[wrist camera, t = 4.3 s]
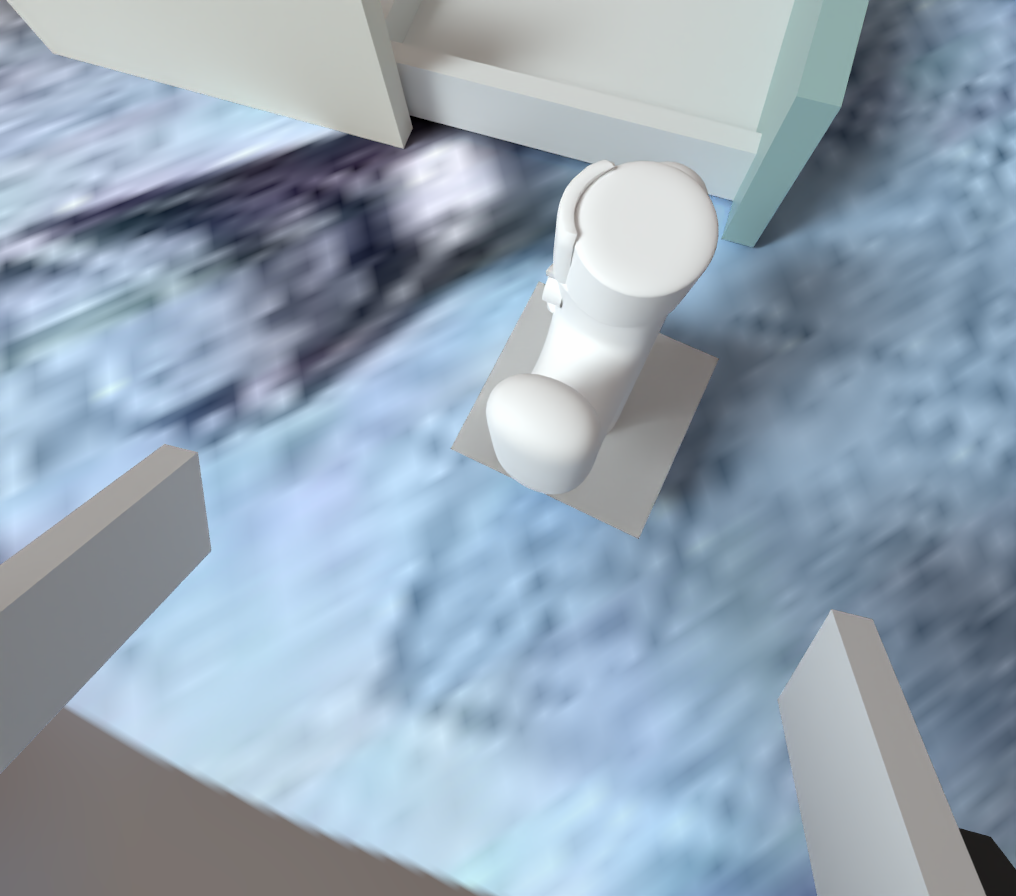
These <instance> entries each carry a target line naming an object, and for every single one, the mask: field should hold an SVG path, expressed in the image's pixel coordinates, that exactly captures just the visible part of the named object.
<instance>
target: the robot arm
mask: <svg viewBox="0 0 1016 896" xmlns="http://www.w3.org/2000/svg"><path fill="white" fill-rule="evenodd" d="M210 552H211V545H210V538H209V530H208V523H207V516H206V508H205V501H204V494H203V487H202V479H201V472H200V465H199V457H198V452H194V451H190V450H186V449H182V448H178V447H174V446H170V445H166V444H164V445H163V446H161V447H160V448H159V449H157V450H156V451H154V452H153V453H152V454H150V455H149V456H148V457H146V458H145V459H144V460H142V461H141V462H140V463H138V464H137V465H135V466H134V467H133V468H131V469H130V470H129V471H127V472H126V473H125V474H123V475H122V476H121V477H119V478H118V479H116V480H115V481H114V482H112V483H111V484H110V485H108V486H107V487H106V488H104V489H103V490H102V491H100V492H99V493H97V494H96V495H95V496H93V497H92V498H91V499H89V500H88V501H87V502H85V503H84V504H83V505H81V506H80V507H78V508H77V509H76V510H74V511H73V512H72V513H70V514H69V515H68V516H66V517H65V518H64V519H62V520H61V521H59V522H58V523H57V524H55V525H54V526H53V527H51V528H50V529H49V530H47V531H46V532H45V533H43V534H42V535H40V536H39V537H38V538H36V539H35V540H34V541H32V542H31V543H30V544H28V545H27V546H26V547H24V548H23V549H22V550H20V551H19V552H17V553H16V554H15V555H13V556H12V557H11V558H9V559H8V560H7V561H5V562H4V563H3V564H1V565H0V773H2V771H3V770H4V769H5V768H6V767H7V766H8V765H9V764H10V763H11V762H12V761H13V760H14V759H15V758H16V757H17V756H18V755H19V753H20V752H21V751H22V750H23V749H24V748H25V747H26V746H27V745H28V744H29V743H30V742H31V741H32V740H33V739H34V738H35V737H36V736H37V735H38V733H39V732H40V731H41V730H42V729H43V728H44V727H45V726H46V725H47V724H48V723H49V722H50V721H51V720H52V719H53V718H54V717H55V715H56V714H57V713H58V712H59V711H60V710H61V709H62V708H63V707H64V706H65V705H66V704H67V703H68V702H69V701H70V700H71V699H72V698H73V696H74V695H75V694H76V693H77V692H78V691H79V690H80V689H81V688H82V687H83V686H84V685H85V684H86V683H87V682H88V681H89V680H90V678H91V677H92V676H93V675H94V674H95V673H96V672H97V671H98V670H99V669H100V668H101V667H102V666H103V665H104V664H105V663H106V662H107V661H108V659H109V658H110V657H111V656H112V655H113V654H114V653H115V652H116V651H117V650H118V649H119V648H120V647H121V646H122V645H123V644H124V643H125V641H126V640H127V639H128V638H129V637H130V636H131V635H132V634H133V633H134V632H135V631H136V630H137V629H138V628H139V627H140V626H141V625H142V624H143V622H144V621H145V620H146V619H147V618H148V617H149V616H150V615H151V614H152V613H153V612H154V611H155V610H156V609H157V608H158V607H159V606H160V604H161V603H162V602H163V601H164V600H165V599H166V598H167V597H168V596H169V595H170V594H171V593H172V592H173V591H174V590H175V589H176V588H177V587H178V585H179V584H180V583H181V582H182V581H183V580H184V579H185V578H186V577H187V576H188V575H189V574H190V573H191V572H192V571H193V570H194V569H195V567H196V566H197V565H198V564H199V563H200V562H201V561H202V560H203V559H204V558H205V557H206V556H207V555H208V554H209V553H210ZM778 704H779V709H780V714H781V719H782V724H783V729H784V734H785V738H786V743H787V748H788V753H789V758H790V763H791V768H792V773H793V778H794V783H795V788H796V793H797V798H798V802H799V807H800V812H801V817H802V822H803V827H804V832H805V837H806V842H807V847H808V852H809V857H810V862H811V867H812V871H813V876H814V881H815V886H816V891H817V896H1016V869H1015V868H1014V867H1013V865H1012V864H1011V863H1010V861H1009V860H1008V859H1007V857H1006V856H1005V855H1004V854H1003V852H1002V851H1001V850H1000V848H999V847H998V846H997V844H996V843H995V842H994V841H993V839H992V838H991V837H989V836H986V835H982V834H978V833H975V832H971V831H967V830H964V829H960V828H958V826H957V824H956V821H955V819H954V816H953V814H952V811H951V809H950V806H949V804H948V802H947V799H946V797H945V794H944V792H943V789H942V787H941V785H940V782H939V780H938V777H937V775H936V772H935V770H934V768H933V765H932V763H931V760H930V758H929V755H928V753H927V751H926V748H925V746H924V743H923V741H922V738H921V736H920V734H919V731H918V729H917V726H916V724H915V721H914V719H913V716H912V714H911V712H910V709H909V707H908V704H907V702H906V699H905V697H904V695H903V692H902V690H901V687H900V685H899V682H898V680H897V678H896V675H895V673H894V670H893V668H892V665H891V663H890V661H889V658H888V656H887V653H886V651H885V648H884V646H883V643H882V641H881V639H880V636H879V634H878V631H877V629H876V626H875V624H874V622H873V619H869V618H865V617H861V616H857V615H853V614H849V613H845V612H841V611H837V610H833V609H831V611H830V613H829V614H828V616H827V618H826V619H825V621H824V623H823V624H822V626H821V628H820V629H819V631H818V633H817V634H816V636H815V638H814V639H813V641H812V643H811V644H810V646H809V648H808V649H807V651H806V653H805V654H804V656H803V658H802V659H801V661H800V663H799V665H798V666H797V668H796V670H795V671H794V673H793V675H792V676H791V678H790V680H789V681H788V683H787V685H786V686H785V688H784V690H783V691H782V693H781V695H780V696H779V698H778Z"/></svg>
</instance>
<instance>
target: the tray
mask: <svg viewBox="0 0 1016 896" xmlns="http://www.w3.org/2000/svg"><path fill="white" fill-rule="evenodd" d="M380 2H381V6H382V10H383V14H384V18H385V22H386V26H387V30H388V33H389V37H390V41H391V45H392V49H393V53H394V57H395V61H396V65H397V69H398V72H399V76H400V80H401V84H402V88H403V92H404V96H405V100H406V104H407V108H408V112H409V115H411V116H415V117H418V118H422V119H426V120H430V121H433V122H437V123H441V124H445V125H449V126H452V127H456V128H460V129H464V130H467V131H471V132H475V133H479V134H483V135H486V136H490V137H494V138H498V139H501V140H505V141H509V142H513V143H517V144H520V145H524V146H528V147H532V148H536V149H539V150H543V151H547V152H551V153H554V154H558V155H562V156H566V157H570V158H573V159H577V160H581V161H585V162H588V163H592V164H594V163H596V162H598V161H601V160H608V161H610V162H613V163H614V164H615V166H617V165H621V164H624V163H628V162H635V161H654V162H666V161H669V162H676V163H680V164H683V165H685V166H687V167H689V168H691V169H692V170H693V171H695V172H696V173H697V174H698V175H699V176H700V177H701V179H702V180H703V181H704V183H705V185H706V188H707V191H708V194H709V195H713V196H717V197H721V198H725V199H728V200H732V201H733V202H732V206H731V209H730V212H729V216H728V219H727V223H726V226H725V229H724V233H723V236H722V239H724V240H728V241H731V242H735V243H739V244H742V245H746V246H750V247H754V245H755V244H756V242H757V241H758V239H759V237H760V236H761V234H762V233H763V231H764V229H765V228H766V226H767V225H768V223H769V222H770V220H771V218H772V217H773V215H774V214H775V212H776V210H777V209H778V207H779V206H780V204H781V202H782V201H783V199H784V198H785V196H786V194H787V193H788V191H789V190H790V188H791V186H792V185H793V183H794V182H795V180H796V178H797V177H798V175H799V174H800V172H801V170H802V169H803V167H804V166H805V164H806V162H807V161H808V159H809V158H810V156H811V155H812V153H813V151H814V150H815V148H816V147H817V145H818V143H819V142H820V140H821V139H822V137H823V135H824V134H825V132H826V131H827V129H828V127H829V126H830V124H831V123H832V121H833V119H834V118H835V116H836V115H837V113H838V111H839V110H840V108H841V106H842V102H843V98H844V95H845V91H846V87H847V83H848V79H849V75H850V72H851V68H852V64H853V60H854V56H855V52H856V49H857V45H858V41H859V37H860V33H861V29H862V26H863V22H864V18H865V14H866V10H867V6H868V3H869V0H380Z"/></svg>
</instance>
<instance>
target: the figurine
mask: <svg viewBox="0 0 1016 896" xmlns="http://www.w3.org/2000/svg"><path fill="white" fill-rule="evenodd" d="M717 241H718V220H717V215H716V211H715V208H714V206H713V203H712V201H711V199H710V198H709V196H708V191H707V188H706V185H705V183H704V181H703V180H702V179H701V177H700V176H699V175H698V174H697V173H696V172H695V171H693V170H692V169H691V168H689V167H687V166H685V165H683V164H680V163H676V162H669V161H666V162H654V161H635V162H628V163H624V164H621V165H617V166H615V164H614V163H613V162H610V161H608V160H601V161H598V162H596V163H594V164H591V165H589V166H588V167H586V168H585V169H584V170H583V171H581V172H580V173H579V174H578V175H577V176H576V177H575V178H574V179H573V180H572V181H571V182H570V184H569V185H568V186H567V188H566V189H565V192H564V194H563V196H562V198H561V201H560V205H559V209H558V214H557V223H556V233H555V243H554V254H553V264H552V265H551V266H550V267H549V268H548V269H547V270H546V275H547V276H549V277H548V279H547V282H546V284H544V283H541V282H538V284H537V286H536V288H535V290H534V292H533V294H532V296H531V297H530V299H529V301H528V303H527V305H526V307H525V309H524V311H523V313H522V315H521V316H520V318H519V320H518V322H517V324H516V326H515V328H514V330H513V332H512V334H511V335H510V337H509V339H508V341H507V343H506V345H505V347H504V349H503V351H502V352H501V354H500V356H499V358H498V360H497V362H496V364H495V366H494V368H493V370H492V371H491V373H490V375H489V377H488V379H487V381H486V383H485V385H484V387H483V388H482V390H481V392H480V394H479V396H478V398H477V400H476V402H475V404H474V406H473V407H472V409H471V411H470V413H469V415H468V417H467V419H466V421H465V423H464V425H463V426H462V428H461V430H460V432H459V434H458V436H457V438H456V440H455V442H454V443H453V445H452V447H451V449H452V450H454V451H456V452H459V453H461V454H463V455H465V456H467V457H469V458H471V459H473V460H475V461H477V462H479V463H481V464H484V465H486V466H488V467H490V468H492V469H494V470H496V471H498V472H500V473H502V474H504V475H506V476H509V477H511V478H513V479H515V480H516V481H517V482H519V483H520V484H522V485H524V486H526V487H527V488H530V489H532V490H534V491H537V492H541V493H544V494H546V495H548V496H550V497H552V498H554V499H556V500H559V501H561V502H563V503H565V504H567V505H569V506H571V507H573V508H575V509H577V510H579V511H581V512H584V513H586V514H588V515H590V516H592V517H594V518H596V519H598V520H600V521H602V522H604V523H606V524H609V525H611V526H613V527H615V528H617V529H619V530H621V531H623V532H625V533H627V534H629V535H631V536H634V537H636V538H638V539H639V537H640V535H641V532H642V530H643V528H644V526H645V523H646V521H647V519H648V517H649V515H650V512H651V510H652V508H653V506H654V503H655V501H656V499H657V497H658V494H659V492H660V490H661V488H662V485H663V483H664V481H665V479H666V476H667V474H668V472H669V470H670V467H671V465H672V463H673V461H674V459H675V456H676V454H677V452H678V450H679V447H680V445H681V443H682V441H683V438H684V436H685V434H686V432H687V429H688V427H689V425H690V423H691V420H692V418H693V416H694V414H695V411H696V409H697V407H698V405H699V403H700V400H701V398H702V396H703V394H704V391H705V389H706V387H707V385H708V382H709V380H710V378H711V376H712V373H713V371H714V369H715V367H716V364H717V362H718V360H719V358H717V357H714V356H712V355H710V354H707V353H705V352H703V351H700V350H698V349H696V348H693V347H691V346H689V345H686V344H684V343H682V342H679V341H677V340H675V339H672V338H670V337H668V336H665V335H663V334H661V333H659V332H660V330H661V327H662V325H663V323H664V321H665V319H666V317H667V315H668V314H669V313H670V312H671V311H673V310H674V309H675V308H676V306H677V305H678V304H679V303H680V302H681V301H682V299H683V298H684V297H685V296H686V294H687V293H688V292H689V290H690V289H691V288H692V287H693V285H694V284H695V283H696V281H697V280H698V279H699V278H700V276H701V275H702V274H703V272H704V271H705V270H706V268H707V267H708V265H709V263H710V262H711V260H712V258H713V255H714V253H715V250H716V246H717Z"/></svg>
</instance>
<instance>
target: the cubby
mask: <svg viewBox="0 0 1016 896" xmlns="http://www.w3.org/2000/svg"><path fill="white" fill-rule="evenodd" d="M6 1H7V2H8V3H9V4H10V5H11V6H12V7H13V8H14V10H15V11H16V12H17V13H18V14H19V15H20V16H21V18H22V19H23V20H24V21H25V22H26V23H27V24H28V25H29V27H30V28H31V29H32V30H33V31H34V32H35V33H36V35H37V36H38V37H39V38H40V39H41V40H42V41H43V42H44V44H45V45H46V46H47V47H48V48H49V49H50V50H51V52H52V53H53V54H57V55H60V56H64V57H68V58H71V59H75V60H79V61H82V62H86V63H90V64H93V65H97V66H101V67H104V68H108V69H112V70H115V71H119V72H123V73H127V74H130V75H134V76H138V77H141V78H145V79H149V80H152V81H156V82H160V83H163V84H167V85H171V86H174V87H178V88H182V89H186V90H189V91H193V92H197V93H200V94H204V95H208V96H211V97H215V98H219V99H222V100H226V101H230V102H233V103H237V104H241V105H245V106H248V107H252V108H256V109H259V110H263V111H267V112H270V113H274V114H278V115H281V116H285V117H289V118H292V119H296V120H300V121H303V122H307V123H311V124H315V125H318V126H322V127H326V128H329V129H333V130H337V131H340V132H344V133H348V134H351V135H355V136H359V137H362V138H366V139H370V140H374V141H377V142H381V143H385V144H388V145H392V146H396V147H399V148H403V149H404V147H405V145H406V142H407V140H408V138H409V135H410V133H411V131H412V129H413V127H412V123H411V119H410V115H409V112H408V108H407V104H406V100H405V96H404V92H403V88H402V84H401V80H400V76H399V72H398V69H397V65H396V61H395V57H394V53H393V49H392V45H391V41H390V37H389V33H388V30H387V26H386V22H385V18H384V14H383V10H382V6H381V2H380V0H6Z"/></svg>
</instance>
